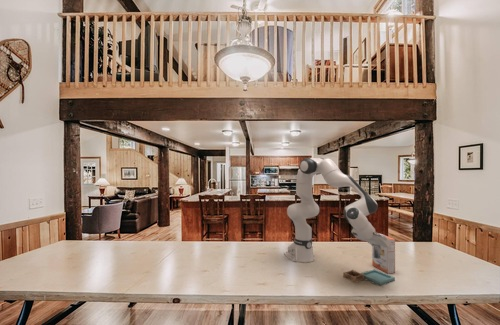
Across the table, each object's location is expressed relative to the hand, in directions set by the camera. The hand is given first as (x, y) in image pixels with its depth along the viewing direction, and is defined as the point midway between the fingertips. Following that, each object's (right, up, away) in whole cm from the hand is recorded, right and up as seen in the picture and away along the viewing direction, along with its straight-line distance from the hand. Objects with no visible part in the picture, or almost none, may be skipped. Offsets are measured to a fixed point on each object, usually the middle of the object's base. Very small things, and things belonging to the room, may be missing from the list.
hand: (377, 246), depth 149 cm
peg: (-1, -6, 0) cm, 6 cm away
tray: (-1, -19, 0) cm, 19 cm away
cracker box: (+10, -19, +13) cm, 25 cm away
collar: (-14, -19, 0) cm, 23 cm away
